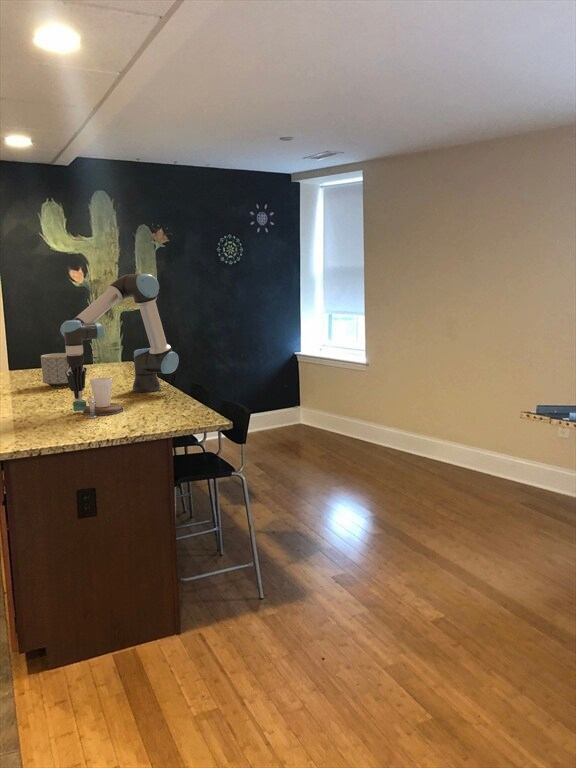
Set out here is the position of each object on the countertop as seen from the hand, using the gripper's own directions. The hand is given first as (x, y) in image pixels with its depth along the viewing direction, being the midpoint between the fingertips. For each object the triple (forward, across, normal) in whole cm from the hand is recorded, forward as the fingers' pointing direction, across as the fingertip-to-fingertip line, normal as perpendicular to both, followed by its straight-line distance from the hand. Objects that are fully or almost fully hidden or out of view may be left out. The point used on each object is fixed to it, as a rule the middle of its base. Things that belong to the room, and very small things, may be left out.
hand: (79, 404), depth 282 cm
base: (+3, -3, +11) cm, 12 cm away
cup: (+1, -3, +11) cm, 11 cm away
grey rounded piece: (+3, +9, +14) cm, 17 cm away
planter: (+4, -57, -55) cm, 79 cm away
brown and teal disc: (+2, -2, +9) cm, 9 cm away
